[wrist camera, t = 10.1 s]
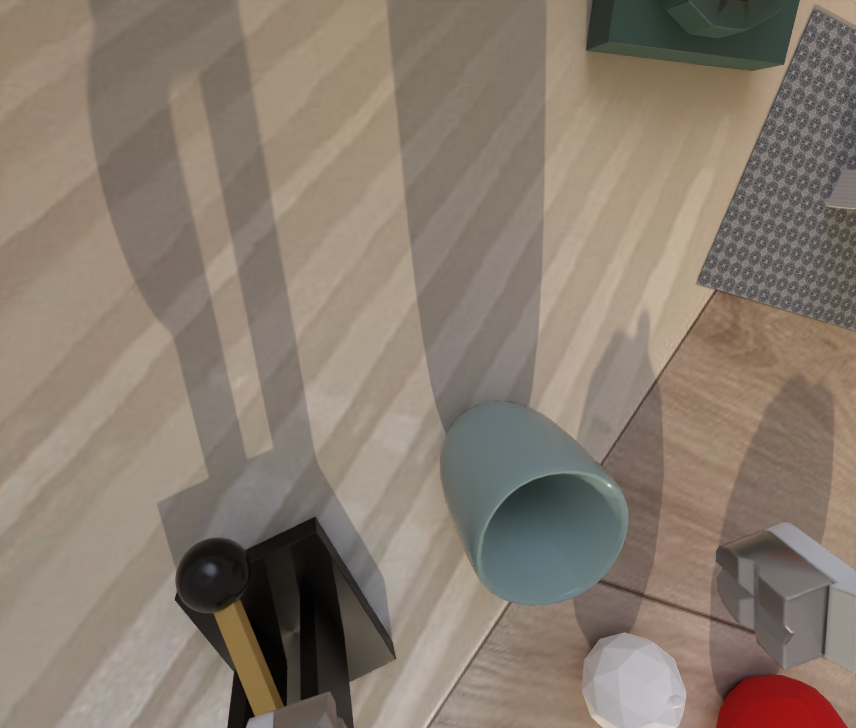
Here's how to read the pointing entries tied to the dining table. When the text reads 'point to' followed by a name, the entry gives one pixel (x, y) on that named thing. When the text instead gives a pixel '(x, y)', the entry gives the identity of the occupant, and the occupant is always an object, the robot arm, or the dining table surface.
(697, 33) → the dimmer block
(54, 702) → the dining table surface
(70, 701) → the dining table surface
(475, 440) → the cup
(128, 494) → the dining table surface
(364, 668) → the lever base
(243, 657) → the lever with ball knob
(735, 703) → the tomato
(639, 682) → the ornament
